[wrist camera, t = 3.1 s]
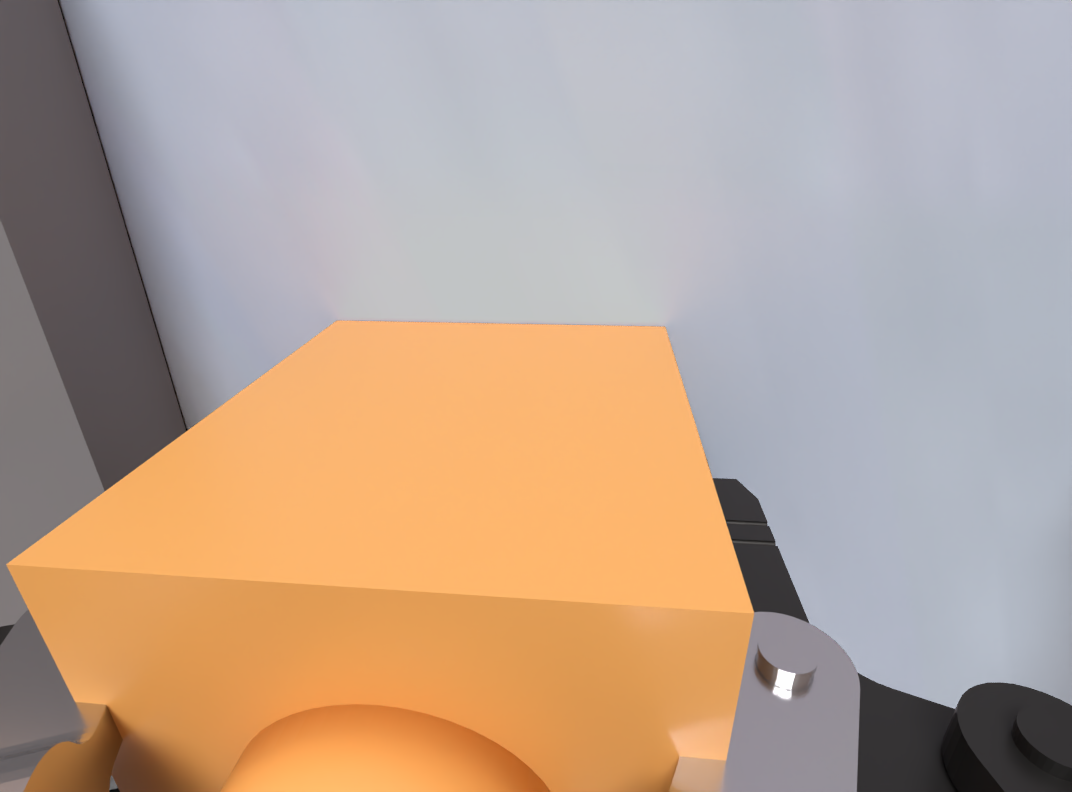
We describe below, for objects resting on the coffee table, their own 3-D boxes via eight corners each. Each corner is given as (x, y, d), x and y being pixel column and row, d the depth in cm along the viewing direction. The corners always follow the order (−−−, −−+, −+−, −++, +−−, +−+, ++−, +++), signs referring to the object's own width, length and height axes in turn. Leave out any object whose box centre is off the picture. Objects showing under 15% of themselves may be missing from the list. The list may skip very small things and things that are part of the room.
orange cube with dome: (665, 326, 9) (803, 765, 3) (643, 589, 12) (693, 1155, 5) (336, 320, 10) (-149, 680, 3) (377, 572, 12) (129, 1068, 6)
